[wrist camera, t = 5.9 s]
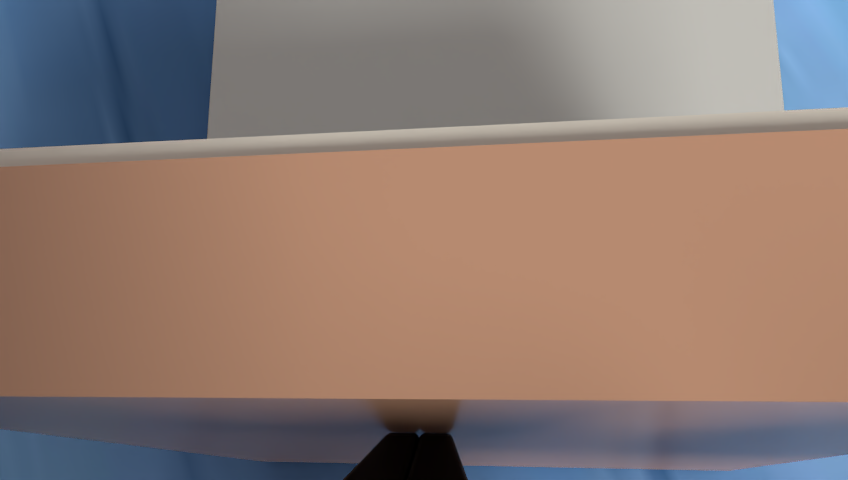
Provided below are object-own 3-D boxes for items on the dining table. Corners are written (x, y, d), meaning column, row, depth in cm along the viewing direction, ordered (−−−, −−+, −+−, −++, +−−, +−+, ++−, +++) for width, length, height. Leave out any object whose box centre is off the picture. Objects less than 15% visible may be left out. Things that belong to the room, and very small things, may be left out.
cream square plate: (799, 348, 19) (807, 347, 18) (201, 350, 21) (192, 348, 20) (749, -166, 22) (754, -181, 21) (233, -113, 24) (225, -125, 24)
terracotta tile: (728, 470, 18) (1211, 404, 5) (261, 461, 20) (-279, 394, 7) (717, 368, 19) (1109, 83, 6) (269, 368, 21) (-199, 150, 8)
